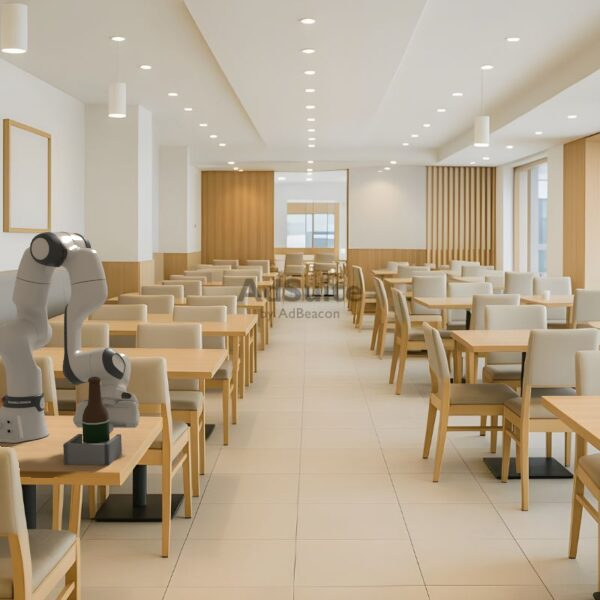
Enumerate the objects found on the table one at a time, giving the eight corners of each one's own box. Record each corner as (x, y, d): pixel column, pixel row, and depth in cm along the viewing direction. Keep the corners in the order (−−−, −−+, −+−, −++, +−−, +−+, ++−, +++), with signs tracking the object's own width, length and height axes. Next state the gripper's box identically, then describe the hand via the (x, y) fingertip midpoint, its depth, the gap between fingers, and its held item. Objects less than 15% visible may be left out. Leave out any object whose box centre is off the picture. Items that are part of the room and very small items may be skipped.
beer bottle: (84, 460, 235) (81, 380, 233) (82, 454, 243) (80, 376, 241) (111, 458, 238) (108, 378, 236) (109, 451, 245) (106, 374, 243)
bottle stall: (63, 464, 232) (63, 444, 231) (79, 453, 244) (78, 433, 243) (108, 465, 230) (108, 444, 230) (121, 453, 243) (121, 434, 242)
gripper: (76, 394, 251) (65, 432, 242) (139, 394, 250) (131, 433, 241) (81, 405, 256) (71, 443, 247) (144, 405, 254) (136, 443, 245)
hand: (101, 438), depth 244 cm, fingers closed, pressing on beer bottle
